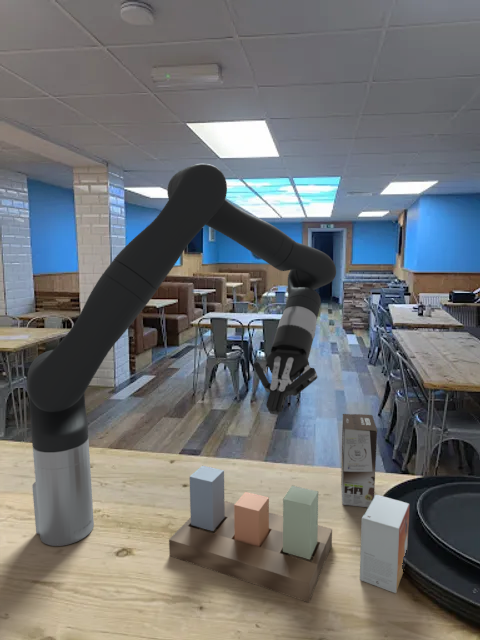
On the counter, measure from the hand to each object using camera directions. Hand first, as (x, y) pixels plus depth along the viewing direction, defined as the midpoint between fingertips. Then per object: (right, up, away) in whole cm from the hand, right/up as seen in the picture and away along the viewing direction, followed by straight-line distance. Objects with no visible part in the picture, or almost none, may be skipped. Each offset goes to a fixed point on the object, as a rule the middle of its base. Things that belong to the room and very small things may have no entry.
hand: (273, 412), depth 79 cm
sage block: (+4, -20, -9) cm, 22 cm away
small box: (+17, -23, -10) cm, 30 cm away
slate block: (-12, -19, -2) cm, 22 cm away
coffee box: (+18, -20, +12) cm, 30 cm away
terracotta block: (-4, -22, -5) cm, 23 cm away
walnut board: (-4, -22, -5) cm, 23 cm away
